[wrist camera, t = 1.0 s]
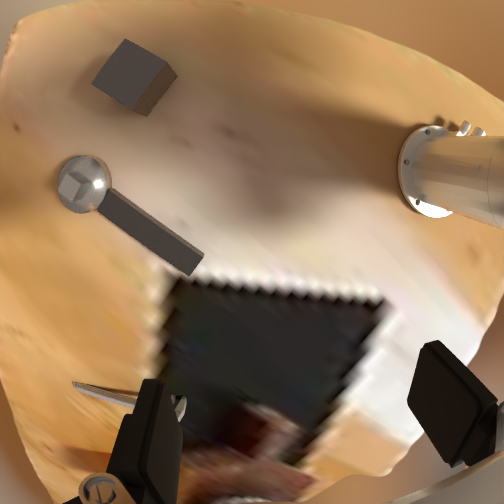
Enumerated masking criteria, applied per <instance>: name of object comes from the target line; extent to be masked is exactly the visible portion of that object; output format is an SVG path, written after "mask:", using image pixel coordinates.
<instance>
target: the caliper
mask: <svg viewBox="0 0 504 504" xmlns="http://www.w3.org/2000/svg"><path fill="white" fill-rule="evenodd" d="M72 383H73V386H74V387H75V388H77V391H80V392H82V393H85V394H88V395H91V396H94V397H97V398H100V399H103V400H106V401H109V402H112V403H115V404H119V405H122V406H125V407H129V408H132V409H134V407H135V404H136V401H137V399H134V398H130V397H127V396H123V395H120V394H116V393H113V392H109V391H106V390H103V389H100V388H97V387H94V386H91V385H88V384H83V383H76V382H72ZM171 399H172V402H173V404H174V402H175V400H176V398H175V395H171ZM185 407H186V397H185V396H183V397H182V399H181V401H180V402H179V404H178V405H177V407H176V408H175V412H176V415H177V418H178V421H179V422H180V420H181V418H182V417H183V415H184V413H185Z"/></svg>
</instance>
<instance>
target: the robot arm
mask: <svg viewBox="0 0 504 504" xmlns="http://www.w3.org/2000/svg"><path fill="white" fill-rule="evenodd" d="M470 129H471V125H470V123H469V122H467V121H463V123H462V124H461V126H460V128H459V130H458V131H452V132H451V131H450V130H448V129H446V128H444V127H441V126H436V125H430V126H424V127H420V128H419V129H417V130H415V131H414V132H412V133H411V134H410V135H409V136H408V138H407V139H406V140H405V142H404V144H403V146H402V148H401V151H400V155H399V158H398V179H399V184H400V187H401V190H402V193H403V195H404V197H405V198H406V200H407V202H408V203H409V204H410V205H411V206H412V208H414V209H415V210H416V211H417V212H419V213H421V214H423V215H426V216H429V217H435V218H439V217H444V216H447V215H449V214H451V213H452V212H453V213H456V214H459V215H462V216H465V217H468V218H471V219H474V220H476V221H479V222H482V223H485V224H488V225H490V226H493V227H496V228H498V229H501V230H504V136H486V134H485V132H484V131H483V130H482V129H481V128H479V127H475V129H474V130H473V132H472V134H471V135H470V136H466V134H468V132H469V130H470ZM404 161H405V163H404ZM415 201H416V202H415ZM497 401H498V399H497V398H496V397H495V396H494V395H493V394H492V393H491V392H490V391H489V390H488V389H487V388H486V387H485V385H484V384H483V383H482V382H481V381H480V380H479V379H478V378H477V377H476V376H475V375H474V374H473V373H472V372H471V371H470V370H469V369H468V368H467V367H466V366H465V365H464V364H463V363H462V362H461V361H460V360H459V359H458V358H457V357H456V356H455V355H454V354H453V353H452V352H451V351H450V350H449V349H448V348H447V347H446V346H445V345H444V344H443V343H442V342H441V341H439V340H436V341H432V342H428V343H425V344H424V346H423V348H421V350H420V353H419V357H418V361H417V365H416V369H415V373H414V377H413V380H412V384H411V388H410V391H409V394H408V398H407V404H408V406H409V408H410V410H411V411H412V413H413V414H414V416H415V417H416V419H417V420H418V422H419V423H420V425H421V426H422V428H423V429H424V431H425V432H426V434H427V435H428V437H429V439H430V440H431V442H432V443H433V445H434V446H435V448H436V450H437V451H438V453H439V454H440V456H441V457H442V459H443V461H444V462H445V463H449V464H450V466H451V468H453V467H455V466H457V465H459V464H461V463H463V461H464V462H465V464H466V467H465V470H463V471H461V472H459V473H457V474H455V475H453V476H451V477H449V478H447V479H445V480H442V481H440V482H438V483H436V484H433V485H431V486H429V487H427V488H424V489H422V490H419V491H417V492H414V493H412V494H409V495H407V496H404V497H401V498H398V499H396V500H393V501H390V502H387V503H384V504H504V401H503V402H502V403H500V405H499V406H498V405H497V404H496V403H497ZM182 444H183V434H182V430H181V427H180V424H179V421H178V418H177V415H176V412H175V409H174V406H173V402H172V399H171V396H170V392H169V389H168V386H167V383H162V381H161V379H144V380H143V382H142V385H141V388H140V391H139V395H138V398H137V401H136V404H135V407H134V410H133V413H132V414H126V415H125V416H124V418H123V420H122V423H121V426H120V429H119V432H118V435H117V438H116V441H115V445H114V448H113V451H112V454H111V457H110V461H109V464H108V467H107V471H106V473H104V472H102V473H94V474H91V475H89V476H87V477H86V478H85V479H84V480H83V481H82V482H81V484H80V486H79V496H77V497H75V498H73V499H71V500H69V501H67V502H65V503H63V504H176V501H177V491H178V481H179V471H180V461H181V452H182Z"/></svg>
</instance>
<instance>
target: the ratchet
mask: <svg viewBox="0 0 504 504" xmlns="http://www.w3.org/2000/svg"><path fill="white" fill-rule="evenodd" d="M111 187H112V178H111V174H110V171H109V169H108V167H107V165H106V164H105V163H104V162H103V161H102V160H101V159H99V158H97V157H94V156H78V157H75V158H73V159H71V160H69V161H68V162H67V163H66V164H65V165H64V167H63V168H62V170H61V172H60V175H59V179H58V192H59V196H60V198H61V200H62V202H63V204H64V205H65V206H66V207H67V208H68V209H69V210H71V211H73V212H75V213H88V212H90V211H93V210H95V209H97V208H98V210H97V211H99V212H100V213H101V214H103V215H104V216H105V217H107V218H108V219H109V220H111V221H112V222H113V223H115V224H116V225H117V226H119V227H120V228H121V229H123V230H124V231H126V232H127V233H128V234H130V235H131V236H132V237H134V238H135V239H137V240H138V241H139V242H141V243H142V244H143V245H145V246H146V247H148V248H149V249H150V250H152V251H153V252H155V253H156V254H157V255H159V256H160V257H162V258H163V259H165V260H166V261H167V262H169V263H170V264H172V265H173V266H175V267H176V268H177V269H179V270H180V271H182V272H183V273H185V274H186V275H188V276H190V275H191V274H192V272H193V271H194V269H195V268H196V267H197V265H198V264H199V263H200V261H201V260H202V259H203V257H204V253H203V252H201V251H200V250H198V249H197V248H196V247H194V246H193V245H191V244H190V243H188V242H187V241H186V240H184V239H183V238H181V237H180V236H179V235H177V234H176V233H174V232H173V231H172V230H170V229H169V228H167V227H166V226H165V225H163V224H162V223H160V222H159V221H158V220H156V219H155V218H153V217H152V216H151V215H149V214H148V213H146V212H145V211H144V210H142V209H141V208H140V207H138V206H137V205H135V204H134V203H133V202H131V201H130V200H129V199H127V198H126V197H124V196H123V195H122V194H120V193H119V192H118V191H116V190H115V189H111Z"/></svg>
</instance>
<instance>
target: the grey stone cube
mask: <svg viewBox="0 0 504 504" xmlns="http://www.w3.org/2000/svg"><path fill="white" fill-rule="evenodd" d="M176 78H177V75H176V74H175V72H174V71H173V70H172V68H171V67H170V66H169V64H168V63H167V62H166V61H164V60H162V59H161V58H159V57H157V56H156V55H154V54H152V53H150V52H149V51H147V50H145V49H144V48H142V47H140V46H138V45H136V44H135V43H133V42H131V41H129V40H127V39H124V40H123V42H122V43H121V44H120V45H119V47H118V48H117V49H116V51H115V52H114V53H113V54H112V56H111V57H110V58H109V60H108V61H107V62H106V64H105V65H104V66H103V68H102V69H101V71H100V72H99V73H98V75H97V76H96V78H95V79H94V80H93V82H92V83H91V84H92V85H94V86H96V87H97V88H99V89H100V90H102V91H103V92H105V93H106V94H108V95H110V96H111V97H113V98H114V99H116V100H117V101H119V102H120V103H122V104H123V105H125V106H126V107H128V108H129V109H131V110H133V111H135V112H138V113H140V114H142V115H145V116H148V114H149V113H150V112H151V110H152V109H153V108H154V106H155V105H156V104H157V102H158V101H159V100H160V98H161V97H162V96H163V94H164V93H165V92H166V90H167V89H168V88H169V86H170V85H171V84H172V83H173V81H174V80H175V79H176Z"/></svg>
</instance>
